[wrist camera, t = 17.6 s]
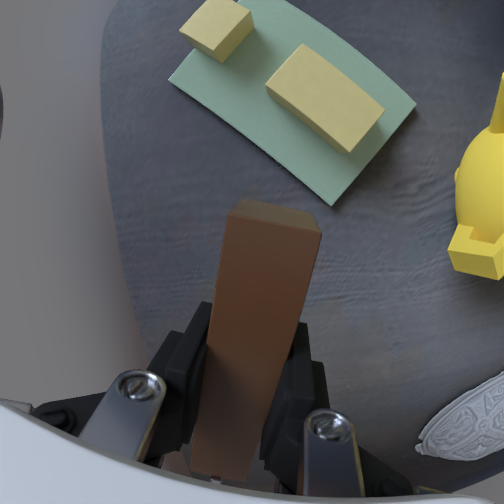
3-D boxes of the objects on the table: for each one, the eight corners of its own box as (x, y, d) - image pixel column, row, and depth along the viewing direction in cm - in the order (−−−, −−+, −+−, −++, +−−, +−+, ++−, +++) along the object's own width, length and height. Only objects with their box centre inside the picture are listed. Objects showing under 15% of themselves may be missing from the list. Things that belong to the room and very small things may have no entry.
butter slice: (190, 44, 21) (178, 30, 18) (223, 9, 20) (215, -9, 16) (222, 64, 21) (213, 51, 18) (255, 27, 20) (251, 10, 17)
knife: (243, 198, 10) (226, 214, 7) (311, 212, 10) (323, 235, 7) (190, 512, 16) (180, 547, 13) (221, 519, 16) (214, 554, 13)
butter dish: (170, 82, 22) (167, 80, 22) (256, -12, 19) (256, -16, 19) (329, 205, 24) (331, 206, 23) (413, 105, 21) (417, 104, 20)
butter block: (266, 94, 21) (264, 84, 18) (300, 56, 20) (302, 42, 17) (341, 154, 22) (349, 153, 19) (373, 116, 21) (386, 110, 18)
